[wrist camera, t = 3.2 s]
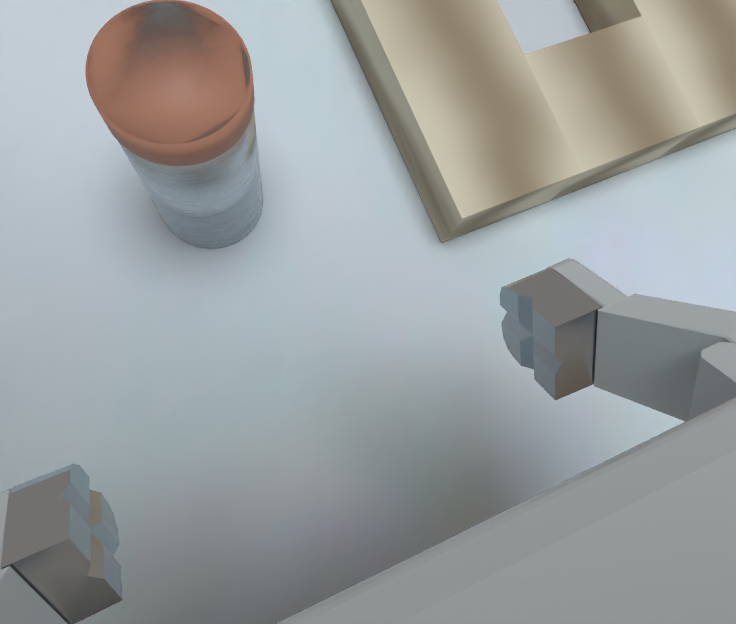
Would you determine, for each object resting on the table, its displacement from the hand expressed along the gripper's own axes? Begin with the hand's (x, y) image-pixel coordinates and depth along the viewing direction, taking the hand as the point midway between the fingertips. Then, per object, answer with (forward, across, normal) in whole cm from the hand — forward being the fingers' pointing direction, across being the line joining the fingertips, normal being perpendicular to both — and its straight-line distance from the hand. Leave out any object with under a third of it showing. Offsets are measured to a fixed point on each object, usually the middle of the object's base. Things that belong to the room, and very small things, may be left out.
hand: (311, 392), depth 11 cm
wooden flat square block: (+17, -16, 0) cm, 24 cm away
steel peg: (+15, 0, +2) cm, 15 cm away
